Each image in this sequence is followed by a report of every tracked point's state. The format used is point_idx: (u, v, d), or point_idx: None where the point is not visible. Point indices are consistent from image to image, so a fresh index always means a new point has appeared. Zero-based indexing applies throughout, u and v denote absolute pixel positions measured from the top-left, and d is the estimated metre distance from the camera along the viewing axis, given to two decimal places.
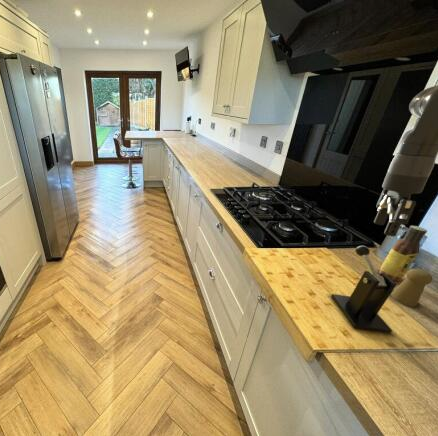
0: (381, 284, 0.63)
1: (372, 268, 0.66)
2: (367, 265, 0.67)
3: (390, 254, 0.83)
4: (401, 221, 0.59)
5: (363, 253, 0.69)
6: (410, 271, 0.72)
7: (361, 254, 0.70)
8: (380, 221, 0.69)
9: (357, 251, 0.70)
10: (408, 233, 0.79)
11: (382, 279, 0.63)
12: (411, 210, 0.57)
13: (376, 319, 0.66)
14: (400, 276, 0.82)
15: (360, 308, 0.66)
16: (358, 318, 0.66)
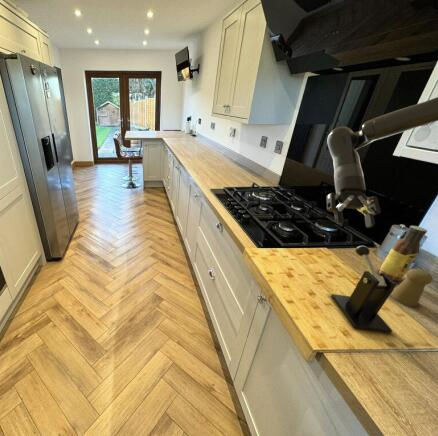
0: (381, 284, 0.63)
1: (372, 268, 0.66)
2: (367, 265, 0.67)
3: (390, 254, 0.83)
4: (329, 208, 0.77)
5: (363, 253, 0.69)
6: (410, 271, 0.72)
7: (361, 254, 0.70)
8: (368, 223, 0.74)
9: (357, 251, 0.70)
10: (408, 233, 0.79)
11: (382, 279, 0.63)
12: (330, 198, 0.77)
13: (376, 319, 0.66)
14: (400, 276, 0.82)
15: (360, 308, 0.66)
16: (358, 318, 0.66)
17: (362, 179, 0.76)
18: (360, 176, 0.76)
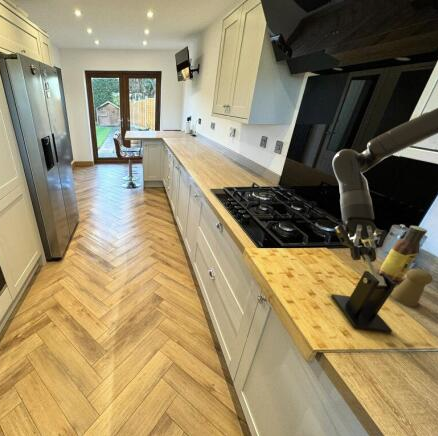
0: (381, 284, 0.63)
1: (372, 268, 0.66)
2: (367, 265, 0.67)
3: (390, 254, 0.83)
4: (344, 242, 0.72)
5: (363, 253, 0.69)
6: (410, 271, 0.72)
7: (361, 254, 0.70)
8: (369, 258, 0.69)
9: None
10: (408, 233, 0.79)
11: (382, 279, 0.63)
12: (341, 233, 0.72)
13: (376, 319, 0.66)
14: (400, 276, 0.82)
15: (360, 308, 0.66)
16: (358, 318, 0.66)
17: (371, 207, 0.71)
18: (369, 205, 0.71)
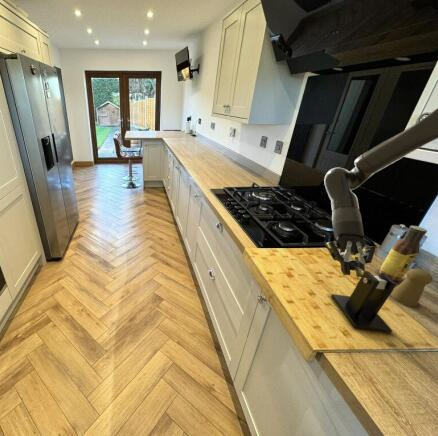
0: (381, 280, 0.63)
1: None
2: (361, 272, 0.69)
3: (390, 254, 0.83)
4: (335, 257, 0.75)
5: (354, 265, 0.72)
6: (410, 271, 0.72)
7: (352, 266, 0.72)
8: (358, 273, 0.73)
9: None
10: (408, 233, 0.79)
11: (380, 278, 0.64)
12: (332, 248, 0.75)
13: (376, 319, 0.66)
14: (400, 276, 0.82)
15: (360, 308, 0.66)
16: (358, 318, 0.66)
17: (360, 225, 0.74)
18: (359, 222, 0.75)
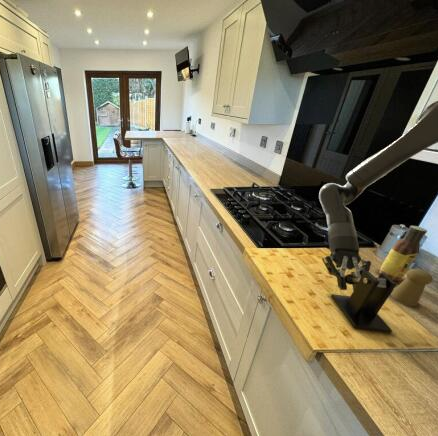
0: (379, 278, 0.63)
1: None
2: None
3: (390, 254, 0.83)
4: (331, 272, 0.76)
5: (351, 277, 0.73)
6: (410, 271, 0.72)
7: (350, 279, 0.73)
8: None
9: None
10: (408, 233, 0.79)
11: None
12: (328, 263, 0.76)
13: (376, 319, 0.66)
14: (400, 276, 0.82)
15: (360, 308, 0.66)
16: (358, 318, 0.66)
17: (356, 240, 0.76)
18: (354, 237, 0.76)
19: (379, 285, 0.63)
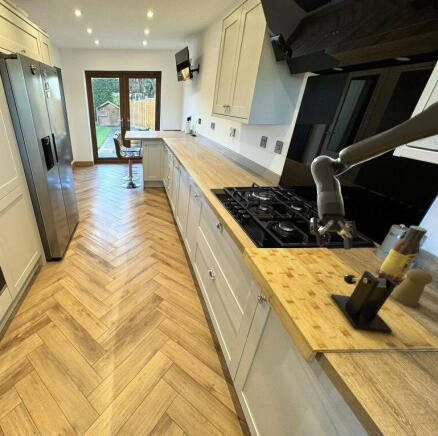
0: (379, 278, 0.63)
1: None
2: None
3: (390, 254, 0.83)
4: (312, 231, 0.85)
5: (351, 277, 0.73)
6: (410, 271, 0.72)
7: (350, 279, 0.73)
8: (346, 246, 0.82)
9: (345, 278, 0.74)
10: (408, 233, 0.79)
11: None
12: (313, 222, 0.85)
13: (376, 319, 0.66)
14: (400, 276, 0.82)
15: (360, 308, 0.66)
16: (358, 318, 0.66)
17: (341, 205, 0.84)
18: (340, 203, 0.84)
19: (379, 285, 0.63)
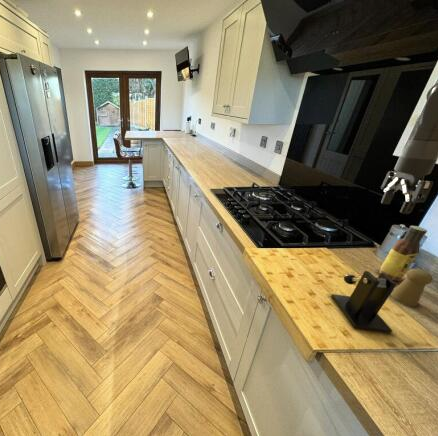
0: (379, 278, 0.63)
1: None
2: None
3: (390, 254, 0.83)
4: (420, 200, 0.66)
5: (351, 277, 0.73)
6: (410, 271, 0.72)
7: (350, 279, 0.73)
8: (387, 201, 0.77)
9: (345, 278, 0.74)
10: (408, 233, 0.79)
11: None
12: (429, 189, 0.65)
13: (376, 319, 0.66)
14: (400, 276, 0.82)
15: (360, 308, 0.66)
16: (358, 318, 0.66)
17: None
18: None
19: (379, 285, 0.63)
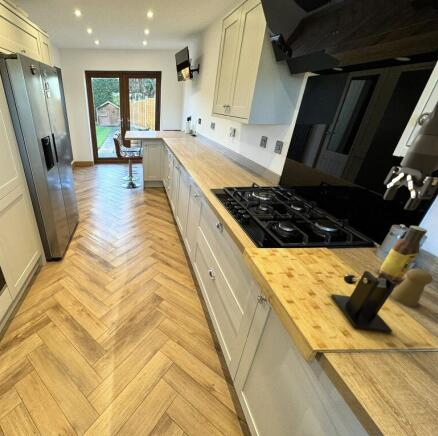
0: (379, 278, 0.63)
1: None
2: None
3: (390, 254, 0.83)
4: (426, 197, 0.65)
5: (351, 277, 0.73)
6: (410, 271, 0.72)
7: (350, 279, 0.73)
8: (389, 197, 0.77)
9: (345, 278, 0.74)
10: (408, 233, 0.79)
11: None
12: (436, 186, 0.64)
13: (376, 319, 0.66)
14: (400, 276, 0.82)
15: (360, 308, 0.66)
16: (358, 318, 0.66)
17: None
18: None
19: (379, 285, 0.63)
